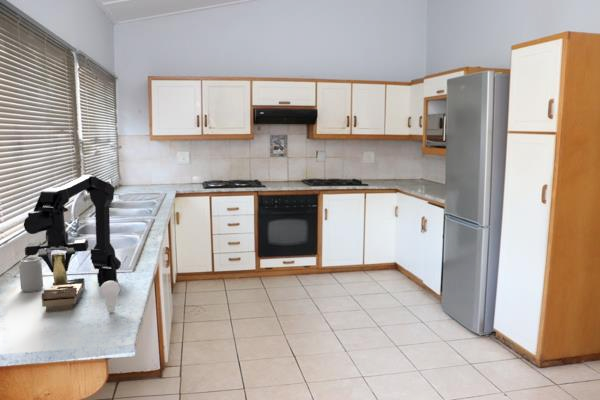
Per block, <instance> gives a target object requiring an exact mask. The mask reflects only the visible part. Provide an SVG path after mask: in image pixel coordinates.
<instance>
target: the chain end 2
mask: <svg viewBox="0 0 600 400" xmlns="http://www.w3.org/2000/svg"><path fill="white" fill-rule="evenodd" d="M85 283H86V282H85V278H84V277H82V278H69V279H68V278H67V283H66V284H63V285H69V284H82V290H81V292H80V295H79V297H78V299H77V301H76V303H75V305H77V304H79V303H80V301H81V299H82V296H83V294H84V292H85V289H86V286H85V285H86V284H85ZM52 286H56V285H55V284H54V282H52Z"/></svg>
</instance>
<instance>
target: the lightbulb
mask: <svg viewBox="0 0 600 400" xmlns="http://www.w3.org/2000/svg"><path fill="white" fill-rule="evenodd" d="M120 290H121V289H120V284H118V282H117V283H116V282H115V281H106V282H104V283H103V284H102V286H100V288H99V293H100V295H101V296H102V298H103V299H104V303H105V306H106V311H107V312H108V313H110V314H113V313H114V312H115V311H116V304H117V298H118V296H119V294H120Z"/></svg>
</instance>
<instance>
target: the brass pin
mask: <svg viewBox="0 0 600 400" xmlns="http://www.w3.org/2000/svg"><path fill="white" fill-rule="evenodd" d="M51 258H52V265H53V273H52V275H53V283H54V284H55V285H63V284H66V283H67V279H68V274H67V271H66V269H65V253H63V252H57V253H53V254H51Z"/></svg>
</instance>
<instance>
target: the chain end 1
mask: <svg viewBox="0 0 600 400" xmlns="http://www.w3.org/2000/svg"><path fill="white" fill-rule="evenodd" d="M81 290H82V284H69V285H56V286H53V285H52V286H50V288H49V289H44V290H43V292H42V293H41V296H40V297H41V306H42V308H44V307H45V312H46V313H53V312H54V313H55V312H64V311H73V309H74V307H75V305H76V304H75V303H76V301H77V299H78V297H79V295H80V292H81Z"/></svg>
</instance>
